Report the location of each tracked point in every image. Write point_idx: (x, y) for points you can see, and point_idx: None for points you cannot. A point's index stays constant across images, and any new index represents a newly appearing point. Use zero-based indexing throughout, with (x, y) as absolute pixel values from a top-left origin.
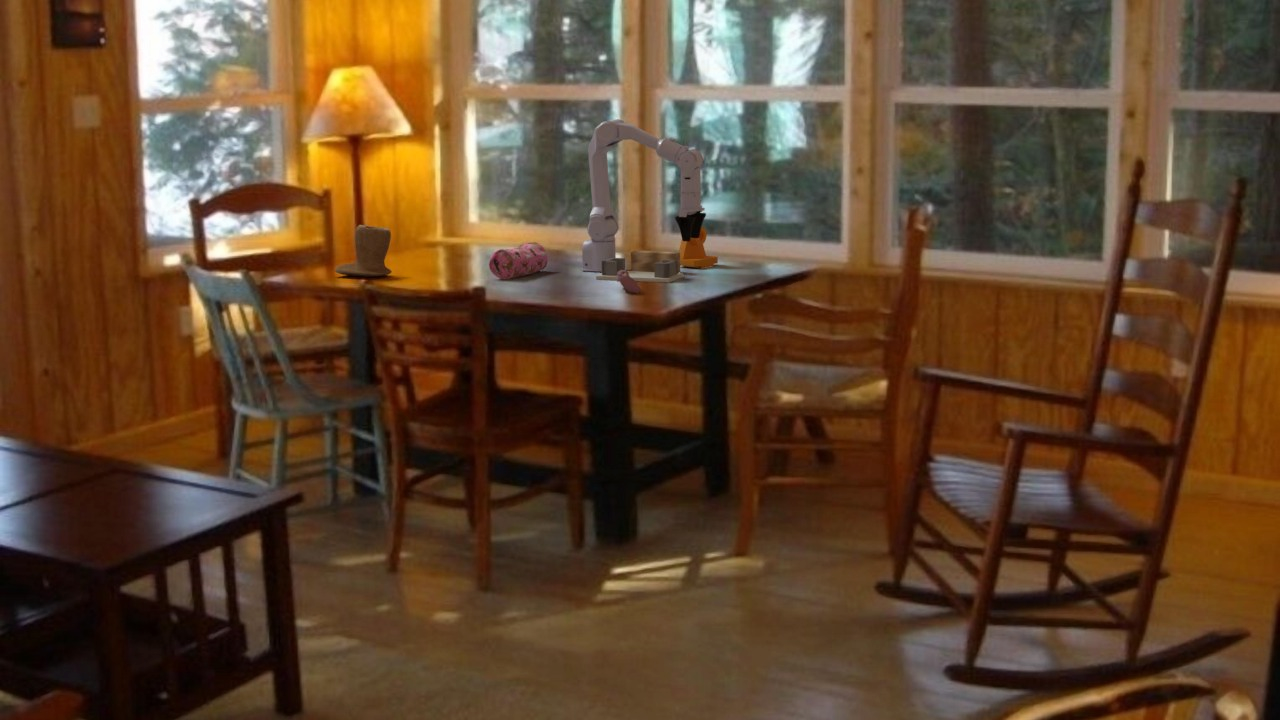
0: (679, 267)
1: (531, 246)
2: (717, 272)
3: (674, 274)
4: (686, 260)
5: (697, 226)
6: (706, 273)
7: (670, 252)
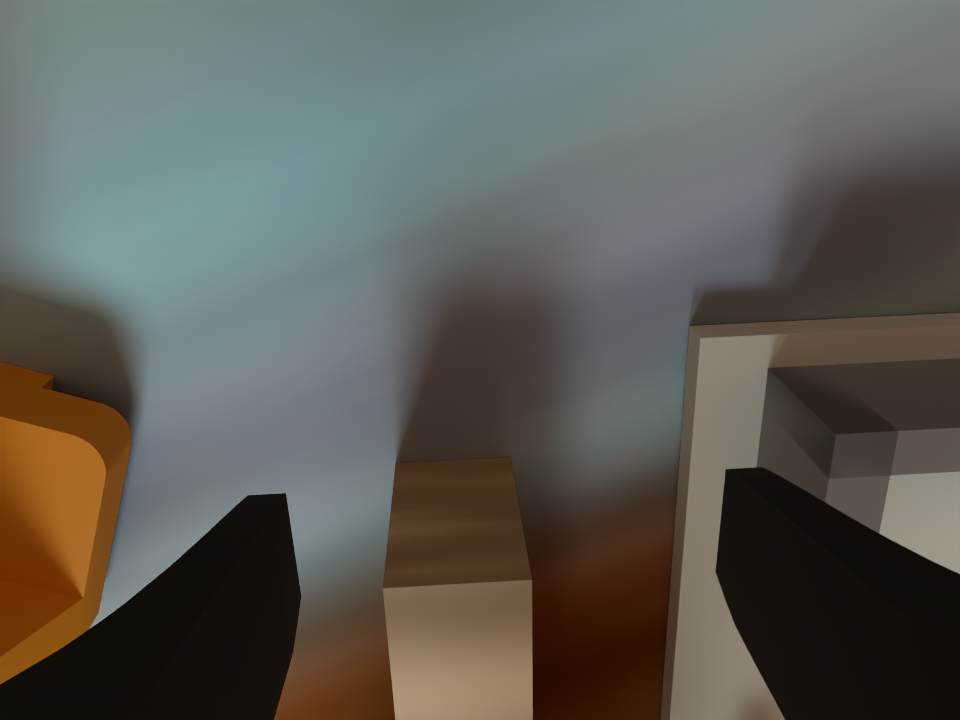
0: (413, 488)
1: None
2: (258, 101)
3: (862, 366)
4: (93, 553)
5: (221, 665)
6: (380, 192)
7: (428, 672)
